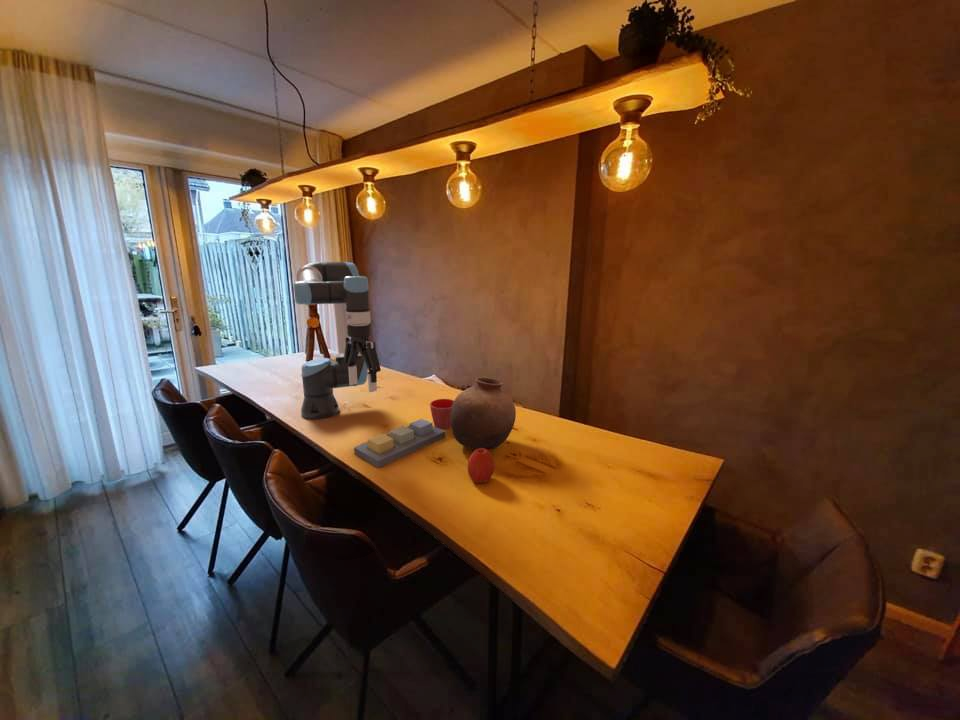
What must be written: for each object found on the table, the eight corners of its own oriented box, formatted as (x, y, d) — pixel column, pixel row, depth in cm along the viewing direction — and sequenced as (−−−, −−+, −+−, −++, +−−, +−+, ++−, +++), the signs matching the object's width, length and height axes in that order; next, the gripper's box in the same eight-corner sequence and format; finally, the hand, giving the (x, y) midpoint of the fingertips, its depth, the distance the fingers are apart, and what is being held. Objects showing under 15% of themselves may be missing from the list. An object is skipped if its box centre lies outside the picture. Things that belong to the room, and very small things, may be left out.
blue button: (409, 432, 143) (409, 423, 142) (421, 427, 147) (421, 418, 146) (420, 436, 139) (420, 427, 138) (432, 431, 143) (432, 422, 142)
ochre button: (368, 448, 129) (367, 439, 128) (383, 442, 134) (382, 433, 133) (379, 454, 125) (378, 444, 125) (393, 448, 130) (393, 438, 129)
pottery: (440, 454, 130) (439, 385, 124) (465, 428, 152) (466, 368, 145) (504, 467, 123) (506, 393, 117) (521, 437, 144) (524, 374, 138)
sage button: (390, 440, 136) (389, 431, 135) (403, 434, 140) (403, 425, 140) (400, 445, 132) (400, 435, 131) (414, 439, 137) (413, 430, 136)
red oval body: (485, 491, 110) (485, 457, 107) (461, 482, 114) (461, 449, 111) (499, 478, 116) (499, 446, 114) (476, 470, 121) (476, 439, 118)
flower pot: (453, 432, 148) (453, 409, 145) (426, 429, 150) (426, 406, 147) (460, 421, 158) (460, 399, 155) (435, 419, 160) (434, 397, 158)
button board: (354, 453, 130) (353, 447, 129) (420, 426, 152) (420, 421, 152) (378, 467, 121) (378, 460, 121) (445, 437, 144) (445, 431, 143)
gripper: (329, 321, 130) (334, 383, 135) (369, 329, 115) (373, 398, 120) (349, 319, 135) (353, 378, 140) (390, 326, 121) (392, 392, 126)
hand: (362, 387), depth 130 cm, fingers open, 11 cm apart
